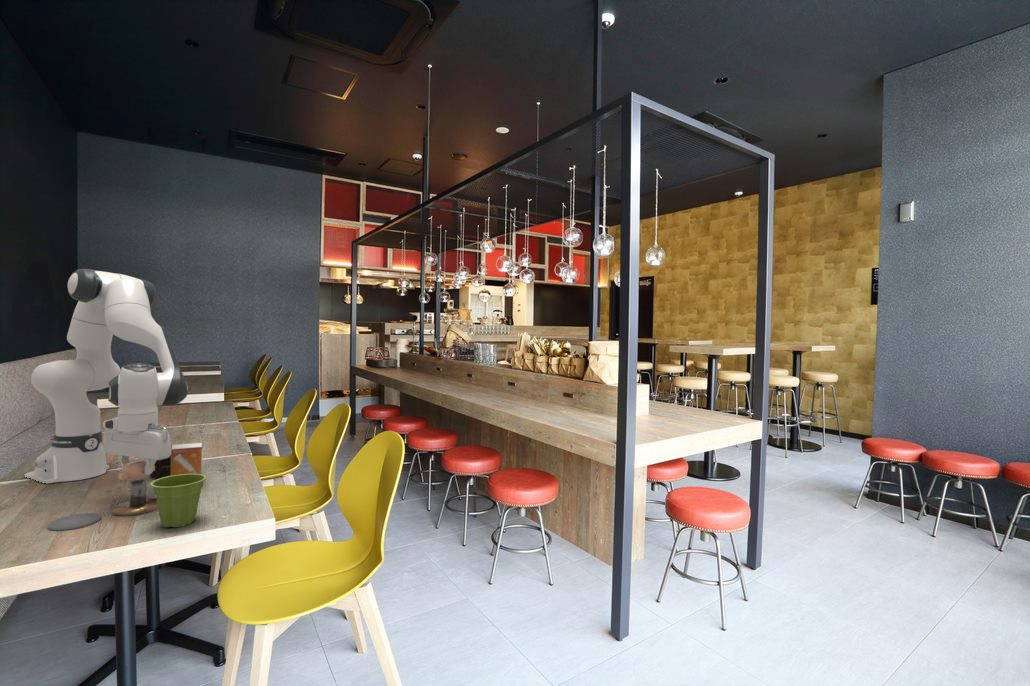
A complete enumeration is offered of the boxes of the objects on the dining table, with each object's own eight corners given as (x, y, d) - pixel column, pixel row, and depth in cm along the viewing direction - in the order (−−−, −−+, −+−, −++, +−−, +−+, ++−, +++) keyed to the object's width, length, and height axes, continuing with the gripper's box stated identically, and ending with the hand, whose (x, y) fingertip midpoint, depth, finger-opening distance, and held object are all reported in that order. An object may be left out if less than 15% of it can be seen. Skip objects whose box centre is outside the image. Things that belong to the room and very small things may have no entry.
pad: (37, 527, 118) (37, 525, 118) (82, 513, 127) (82, 511, 127) (66, 533, 115) (66, 530, 115) (110, 517, 125) (110, 515, 125)
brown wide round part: (101, 513, 128) (101, 483, 128) (142, 499, 138) (142, 472, 138) (132, 518, 125) (133, 488, 125) (172, 504, 136) (172, 476, 136)
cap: (144, 470, 137) (145, 456, 137) (161, 473, 135) (161, 458, 135) (111, 480, 128) (111, 464, 128) (128, 482, 126) (128, 466, 126)
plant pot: (216, 516, 128) (217, 475, 127) (176, 534, 116) (176, 489, 116) (180, 512, 130) (181, 471, 130) (137, 529, 119) (138, 484, 119)
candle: (170, 482, 155) (170, 451, 155) (148, 478, 158) (148, 448, 158) (199, 473, 165) (200, 445, 164) (178, 470, 168) (179, 442, 168)
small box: (170, 491, 147) (170, 449, 146) (171, 485, 152) (171, 444, 152) (201, 487, 151) (202, 446, 151) (201, 481, 156) (202, 442, 156)
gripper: (178, 423, 132) (177, 473, 132) (122, 417, 137) (121, 465, 137) (156, 428, 126) (154, 479, 126) (98, 421, 131) (97, 471, 131)
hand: (137, 472), depth 131 cm, fingers closed on cap, 6 cm apart
